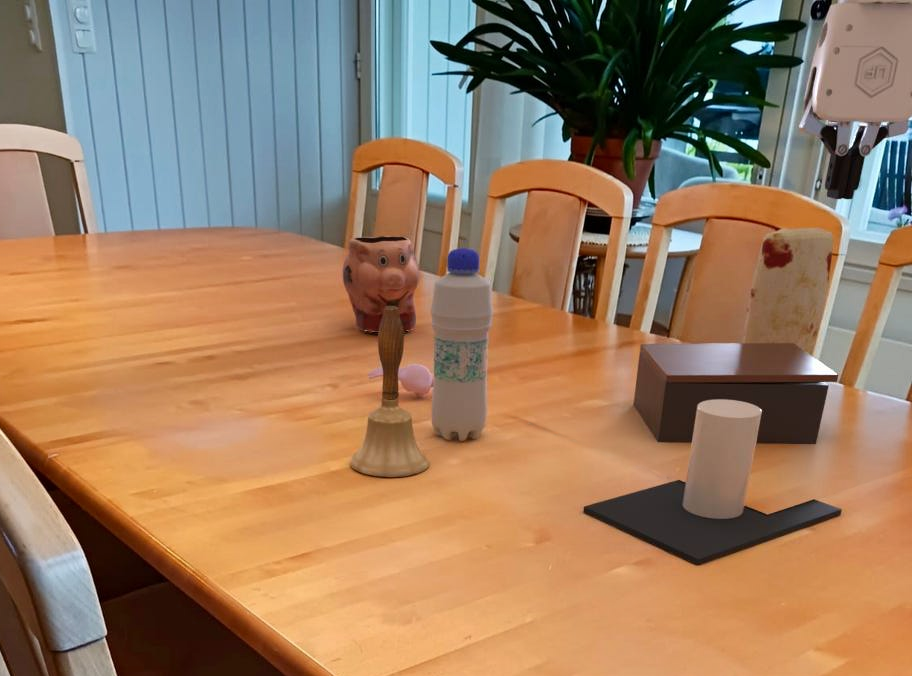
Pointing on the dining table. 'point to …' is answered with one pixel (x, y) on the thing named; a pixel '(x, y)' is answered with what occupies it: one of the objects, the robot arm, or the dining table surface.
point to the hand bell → (390, 414)
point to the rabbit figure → (411, 378)
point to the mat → (701, 522)
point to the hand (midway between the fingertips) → (839, 197)
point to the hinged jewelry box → (782, 403)
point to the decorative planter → (381, 279)
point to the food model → (789, 287)
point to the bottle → (460, 347)
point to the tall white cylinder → (721, 458)
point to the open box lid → (735, 363)
